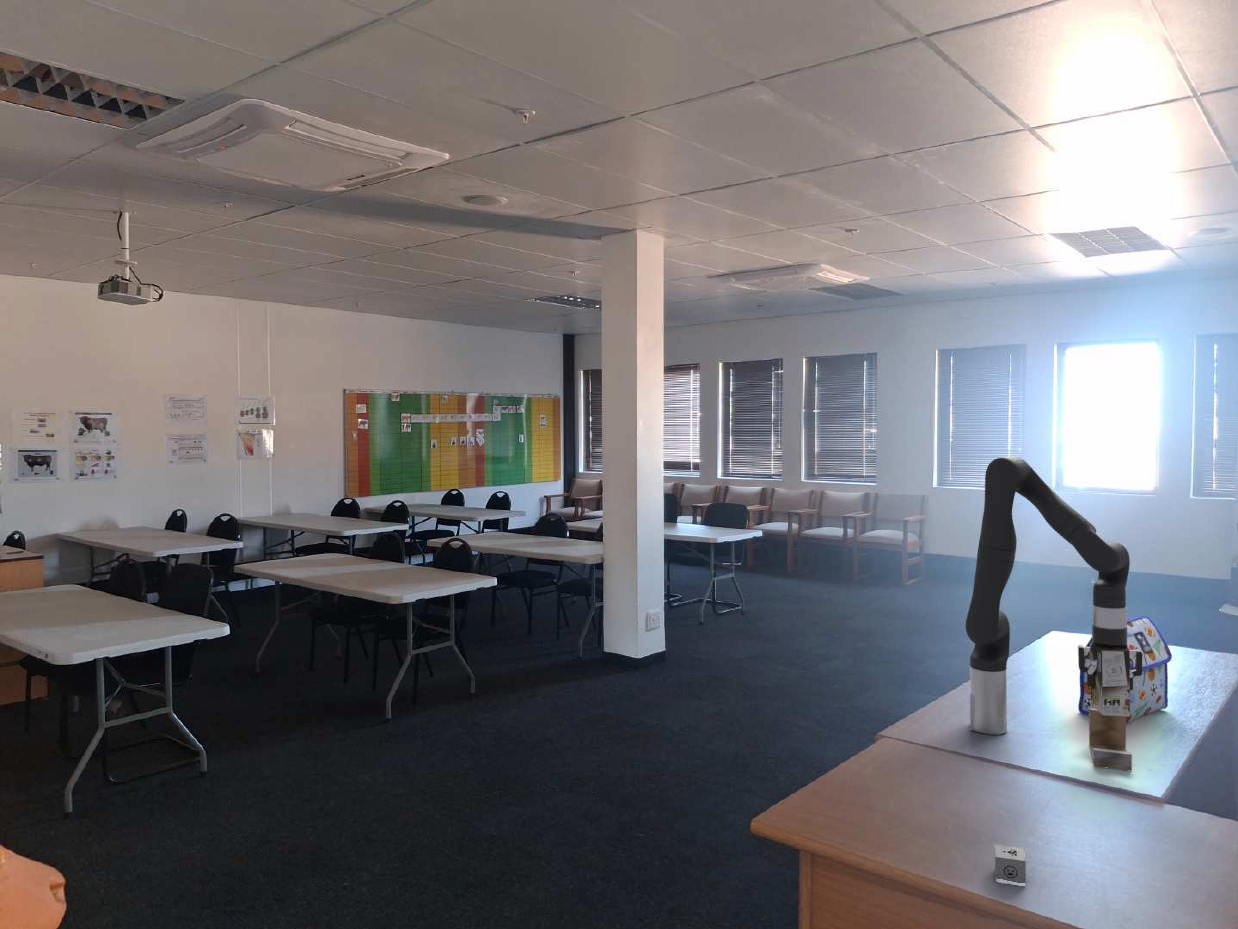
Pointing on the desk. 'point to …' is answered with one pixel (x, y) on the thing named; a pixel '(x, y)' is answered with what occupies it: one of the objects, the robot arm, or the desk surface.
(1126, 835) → the desk surface
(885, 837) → the desk surface
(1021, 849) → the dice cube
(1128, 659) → the coffee box
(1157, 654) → the lunch bag
